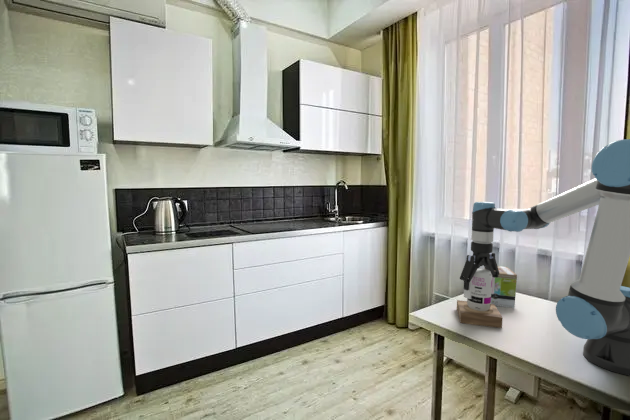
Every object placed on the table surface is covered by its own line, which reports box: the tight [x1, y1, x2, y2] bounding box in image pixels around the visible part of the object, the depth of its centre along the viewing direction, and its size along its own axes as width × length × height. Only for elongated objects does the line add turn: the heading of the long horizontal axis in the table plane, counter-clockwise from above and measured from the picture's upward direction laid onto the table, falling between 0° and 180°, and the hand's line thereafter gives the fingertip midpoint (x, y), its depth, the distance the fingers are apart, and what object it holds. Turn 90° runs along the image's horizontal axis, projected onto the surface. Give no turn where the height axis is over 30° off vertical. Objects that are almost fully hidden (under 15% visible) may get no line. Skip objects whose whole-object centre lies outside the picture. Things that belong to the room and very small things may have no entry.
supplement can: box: [466, 267, 492, 311], centre depth 128 cm, size 8×8×15 cm
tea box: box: [483, 265, 518, 309], centre depth 147 cm, size 15×10×15 cm
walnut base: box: [456, 299, 504, 329], centre depth 129 cm, size 14×14×4 cm
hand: (479, 295), depth 128 cm, fingers open, 13 cm apart
